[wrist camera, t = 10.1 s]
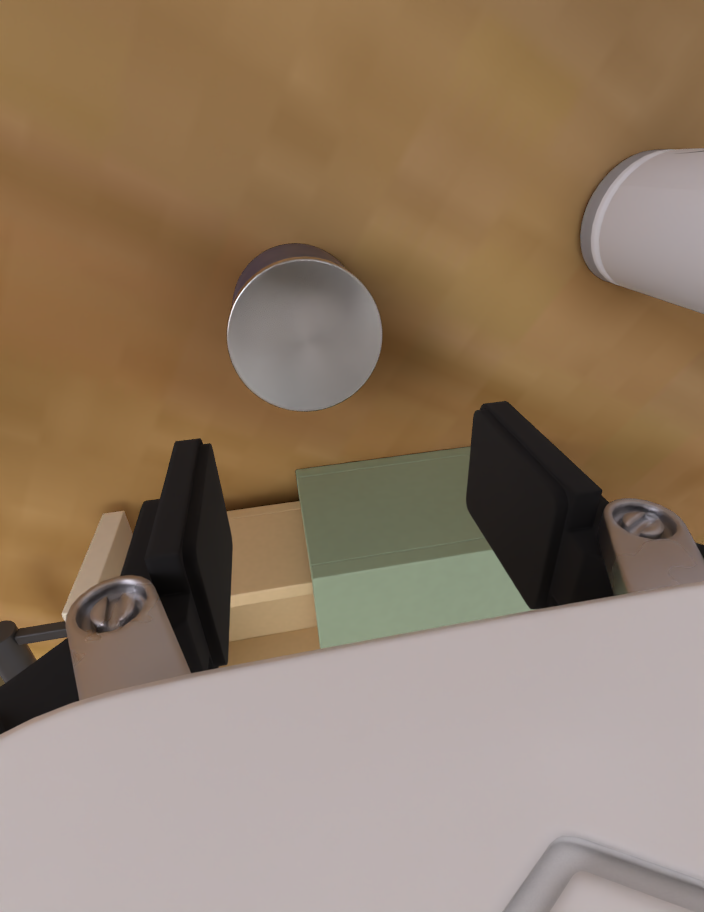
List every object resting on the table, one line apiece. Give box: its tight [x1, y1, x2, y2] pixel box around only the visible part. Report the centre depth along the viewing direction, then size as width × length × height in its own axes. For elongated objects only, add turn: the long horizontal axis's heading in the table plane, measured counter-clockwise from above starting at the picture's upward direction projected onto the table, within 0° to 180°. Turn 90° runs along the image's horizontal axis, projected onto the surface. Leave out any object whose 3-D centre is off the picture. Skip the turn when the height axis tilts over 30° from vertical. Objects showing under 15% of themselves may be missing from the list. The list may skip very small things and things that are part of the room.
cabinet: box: [296, 447, 536, 649], centre depth 31 cm, size 16×14×9 cm
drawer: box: [0, 501, 320, 683], centre depth 29 cm, size 20×13×7 cm, turn 93°
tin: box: [227, 243, 382, 412], centre depth 23 cm, size 7×7×5 cm
